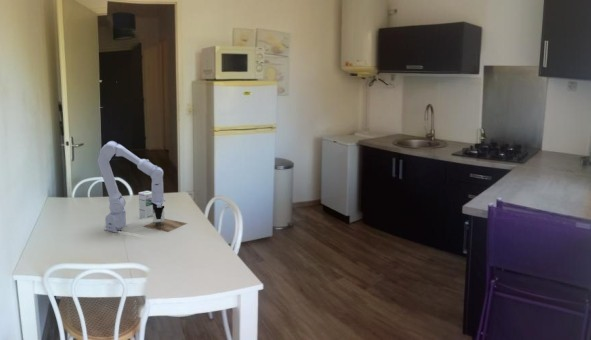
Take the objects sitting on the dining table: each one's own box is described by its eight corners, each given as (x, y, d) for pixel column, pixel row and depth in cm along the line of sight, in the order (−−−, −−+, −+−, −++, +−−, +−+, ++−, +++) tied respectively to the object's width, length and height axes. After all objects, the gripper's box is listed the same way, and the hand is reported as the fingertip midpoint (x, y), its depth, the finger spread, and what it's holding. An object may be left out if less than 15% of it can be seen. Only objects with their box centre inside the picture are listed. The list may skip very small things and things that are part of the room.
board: (168, 234, 238) (167, 231, 238) (142, 229, 244) (142, 226, 244) (187, 226, 253) (187, 223, 252) (163, 221, 259) (163, 218, 259)
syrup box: (145, 220, 259) (145, 194, 256) (139, 217, 263) (138, 192, 260) (154, 217, 264) (154, 192, 261) (147, 215, 267) (147, 190, 264)
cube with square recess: (164, 221, 246) (164, 212, 245) (153, 222, 244) (153, 212, 243) (163, 218, 251) (163, 209, 250) (152, 219, 249) (152, 209, 248)
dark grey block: (161, 225, 247) (161, 216, 246) (155, 226, 246) (155, 216, 245) (160, 223, 249) (160, 214, 248) (155, 224, 248) (154, 215, 247)
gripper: (167, 194, 239) (167, 220, 242) (164, 187, 252) (164, 212, 255) (152, 195, 236) (153, 222, 239) (150, 188, 250) (150, 213, 252)
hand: (158, 217), depth 247 cm, fingers closed on cube with square recess, 5 cm apart
